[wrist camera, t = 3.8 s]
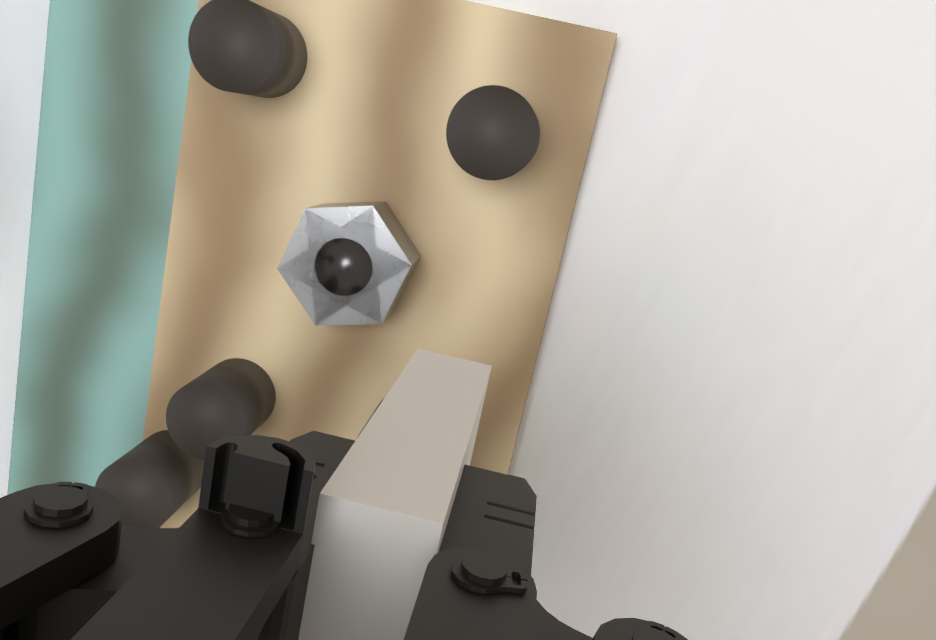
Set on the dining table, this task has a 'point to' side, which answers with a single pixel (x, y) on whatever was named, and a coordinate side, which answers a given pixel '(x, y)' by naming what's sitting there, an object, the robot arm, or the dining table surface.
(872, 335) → the dining table surface
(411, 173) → the board
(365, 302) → the nut
